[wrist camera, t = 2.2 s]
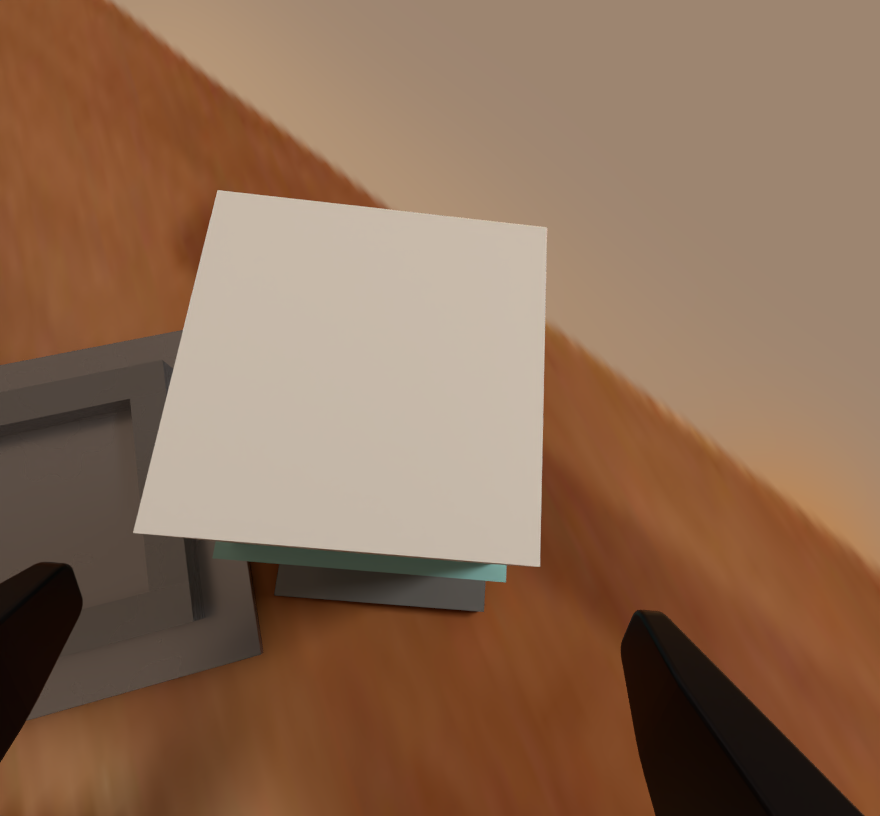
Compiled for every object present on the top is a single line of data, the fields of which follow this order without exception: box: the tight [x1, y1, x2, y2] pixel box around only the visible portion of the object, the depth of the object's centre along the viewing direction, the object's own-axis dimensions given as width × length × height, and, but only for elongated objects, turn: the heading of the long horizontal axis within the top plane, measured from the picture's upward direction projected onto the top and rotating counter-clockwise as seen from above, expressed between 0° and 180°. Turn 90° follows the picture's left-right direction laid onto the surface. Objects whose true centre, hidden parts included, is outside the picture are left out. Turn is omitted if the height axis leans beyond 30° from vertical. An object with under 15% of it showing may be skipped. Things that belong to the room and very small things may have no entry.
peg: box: [133, 190, 547, 582], centre depth 12 cm, size 4×4×13 cm
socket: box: [0, 330, 263, 720], centre depth 17 cm, size 12×12×1 cm
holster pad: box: [274, 564, 485, 612], centre depth 18 cm, size 7×7×1 cm
